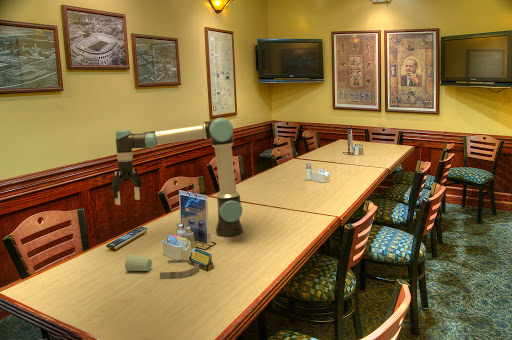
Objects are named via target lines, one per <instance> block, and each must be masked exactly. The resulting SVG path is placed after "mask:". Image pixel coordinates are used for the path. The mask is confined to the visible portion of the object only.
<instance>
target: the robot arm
mask: <svg viewBox="0 0 512 340" xmlns="http://www.w3.org/2000/svg"><path fill="white" fill-rule="evenodd" d="M198 139H205V140H210V143H211V146H212V147H213V148H214V151H215V160H216V162H215V163H216V168H217V169H216V170H217V176H218V177H217V178H218V185H219V193H218V194H217V196H216V200H217V215H218V218H217V219H218V220H217V225H216V228H215V234H216V235H217V236H221V237H235V236H239V235H241V234H242V233H243V232H244V229H243V225H242V223H241V220H240V218H241V217H242V214H243V206H242V202H241V195H240V193H239V192H238V191H237V186H236V185H237V184H236V177H235V168H234V159H233V149H232V147H233V145H234V143H235V141H234V126H233V124H232V122H231V121H230V120H229V119H227V118H224V117H217V118H214V119H211V120H208V121H207V120H206V121H203V122H202V123H201V124H195V125H192V124H191V125H187V126H186V125H185V126H181V127H174V128H166V129H159V130H154V131H153V130H152V131H144V132H142V133H132V131H131V130H130V129H119V130H116V132H115V146H116V158H117V169H118V171H114V172H113V178H112V182H111V185H110V188H109V192H112V193H113V199H114V203H115V205H117V206H118V205H119V206H121V195H120V188H121V186H122V184H123V182H124V181H125V180H130V181H131V183H132V184H133V185H134V187H133V188H134V189H133V191H134V192H133V193H134V200H136V201H139V200H140V199H141V198H140V194H141V188H142V186H143V182H142V179H141V177H140V175H139V172H138V168H134V161H133V160H134V159H133V158H134V157H133V156H134V155H133V150H134V149H153V148H154V149H155V148H156V146H159V145H165V144H171V143H178V142H185V141H192V140H198Z"/></svg>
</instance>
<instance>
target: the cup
mask: <svg viewBox="0 0 512 340" xmlns="http://www.w3.org/2000/svg"><path fill="white" fill-rule="evenodd" d="M152 264H153V263H152V259H150V258H147V257H143V256H138V255H135V254H128V255H127V256H126V258H125V262H124V268H125V269H124V270H126V271H127V272H149V271H150V270H151V268H152V266H153V265H152Z"/></svg>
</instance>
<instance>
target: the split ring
mask: <svg viewBox="0 0 512 340" xmlns="http://www.w3.org/2000/svg"><path fill="white" fill-rule="evenodd" d="M189 260H190V259H186V258H185V259H168V260H167V264H182V263H185V264H186V263H187V264H191V261H189ZM199 265H200V263H199V264H197V263H194V265H193V266H194V267H192V268H190V269H187V270H182V271H166V272H165V271H162V272H161V271H160V273H159V279H161V280H162V279H164V280H165V279H169V280H170V279H184V278H188V277H192V276H193V275H196V274H197V273H198V272H199V269H200V267H199Z"/></svg>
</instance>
